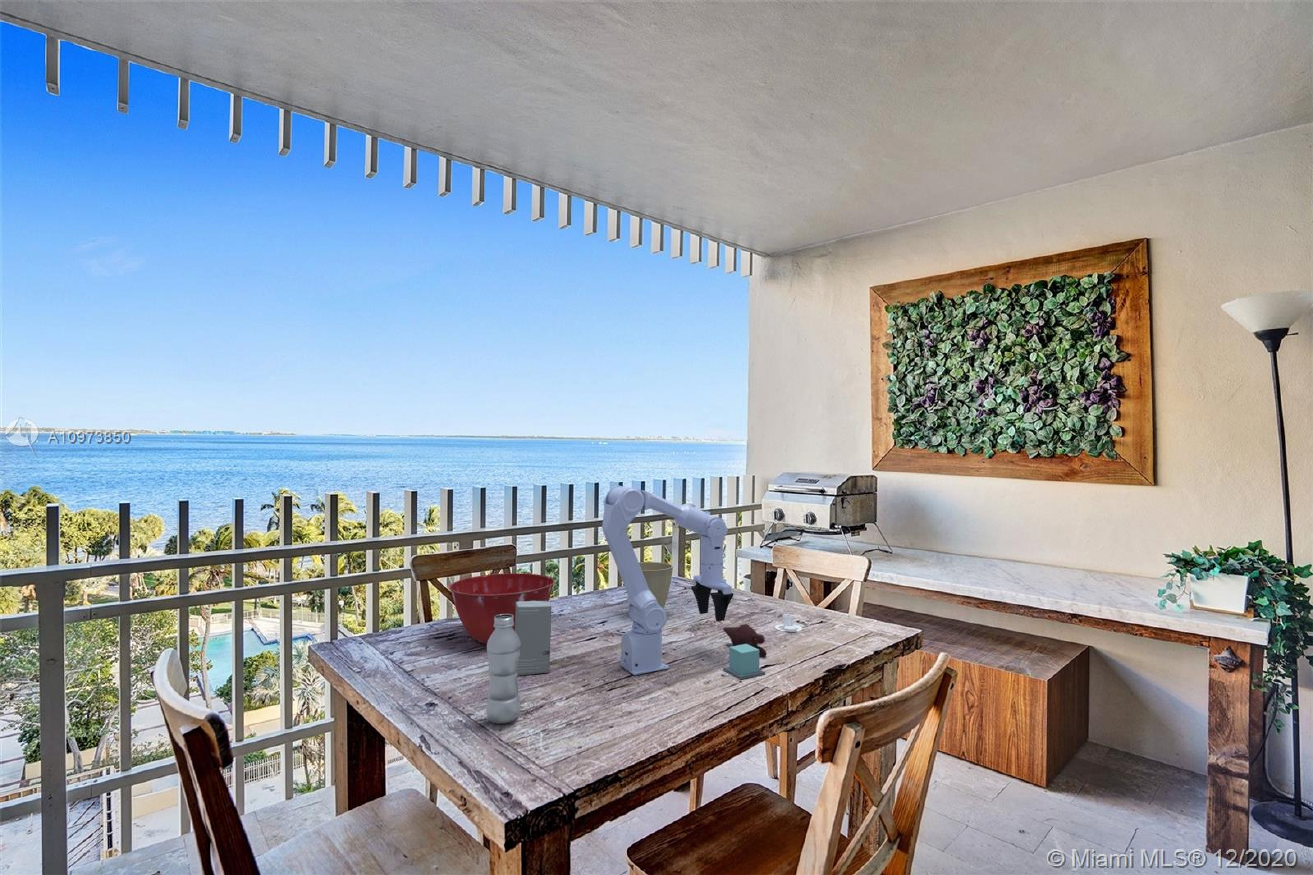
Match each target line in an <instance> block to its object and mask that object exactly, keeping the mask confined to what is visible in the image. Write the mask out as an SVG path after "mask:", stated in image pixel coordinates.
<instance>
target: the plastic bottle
mask: <svg viewBox="0 0 1313 875" xmlns="http://www.w3.org/2000/svg"><path fill="white" fill-rule="evenodd" d="M513 626H514V622H513V615H512V614H500V615H496V616H495V618H494V627H495V630H494V632H493V633H492V634H491V636H490V638H489V640H488V642H487V644H486V651H487V652H486V653H487V659H488V668H489V669H488V672H489V683H488V694H487V695H488V696H487V698H486V699H487V700H486V704H485V705H486V706H485V711H486V717H487V719H488V720H489V721H490V722H491V723H493V724H496V725H497V724H498V725H499V724H500V725H503V724H508V723H512V722H513V721H515V720H516V719H517V718H518V716H519V715H520V711H521V710H520V709H521V698H520V695H519V686H518V676H517V670H518V659H519V652H520V639H519V637H518V635H517V634H516V632H515V631H514V630H513V628H512V627H513Z"/></svg>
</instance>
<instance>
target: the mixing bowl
mask: <svg viewBox="0 0 1313 875" xmlns="http://www.w3.org/2000/svg"><path fill="white" fill-rule="evenodd" d="M555 582H556V580H555V579H554V578H553V577H551V576H548V575H543V574H538V573H537V574H536V573H522V572H521V573H517V572H515V573H514V572H513V573H512V572H511V573H506V572H505V573H493V574H492V573H491V574H484V575H477V576H470V577H467V578H464V579H463V578H462V579H459V580H456V581H454V582H453V583H451V584H450V585H449V588H448V589H449V590H450V593H451V597H452V600H453V601H452V602H453V603H454V604H453V605H454V608H455V609H456V614H457V616H458V617H459V620H460V622H461V625H462V626H463V628H464V629H465V631H466V633H467V634H468V635H469V636H470V637H471V638H472V639H473V640H475V641H478V643H480V644H483V645H487V642H488V640H489V638H490V636H491V634H492V633H493V632H494V630H495V627H494V618H495V616H496V615H500V614H512V615H513V622H514V626H513V627H512V628H513V630H514V631H515V618H516V602H519V601H549V602H550V598H551V595H552V591H553V588H554V587H553V586H554V585H555Z"/></svg>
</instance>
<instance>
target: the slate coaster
mask: <svg viewBox="0 0 1313 875" xmlns="http://www.w3.org/2000/svg"><path fill="white" fill-rule="evenodd" d="M722 669H723V671H724V672H725V673H727V674H729V675H731V676H733V677H735V678H736V679H738V680H740V681H742V680H747V679H751V678H756V677H761V676H765V675H766V671H765V670H762V669H761V668H759V672H754V673H749V674H744V675H741V674H739V673H737V672H736V671H734V670H732V669H730V668H729V666H725V667H723V668H722Z"/></svg>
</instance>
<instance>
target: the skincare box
mask: <svg viewBox="0 0 1313 875" xmlns="http://www.w3.org/2000/svg"><path fill="white" fill-rule="evenodd" d="M551 631H552V605H551V602H550V600H549V601H519V602H516V618H515V632H516V634H517V635H518V637H519V639H520V652H519V659H518V670H517V677H519V676H526V675H527V676H529V675H536V674H548V673H550V670H551V668H550V667H551V666H550V664H551V663H550V662H551V661H550V660H551V637H552V636H551V633H552V632H551Z"/></svg>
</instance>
